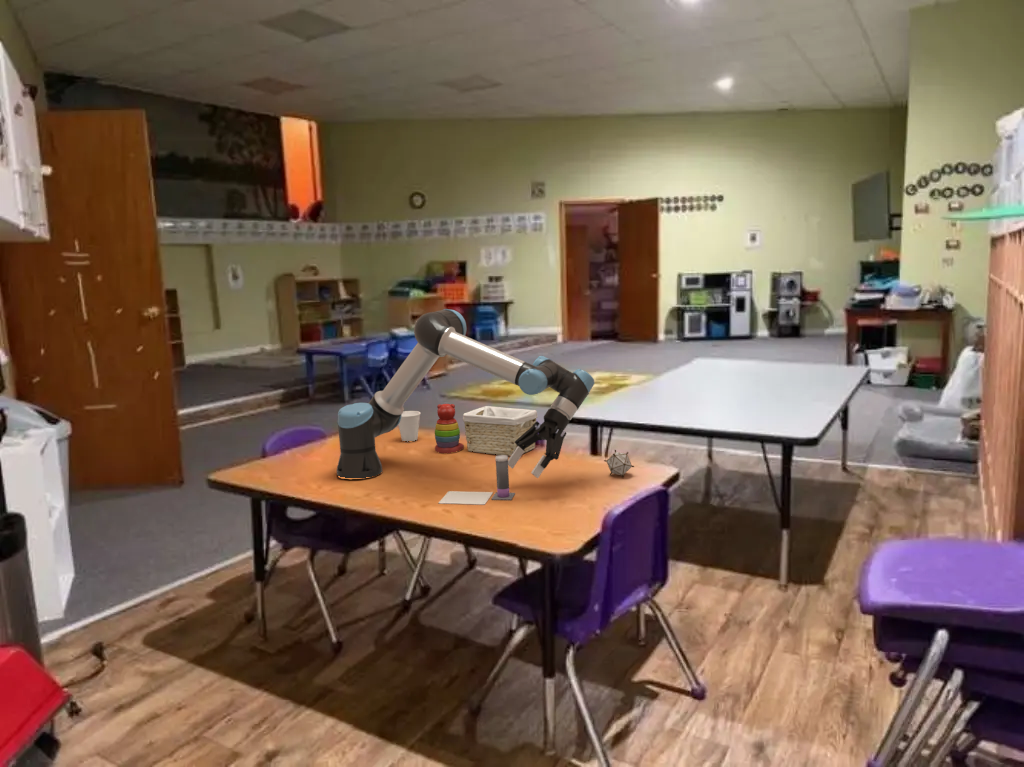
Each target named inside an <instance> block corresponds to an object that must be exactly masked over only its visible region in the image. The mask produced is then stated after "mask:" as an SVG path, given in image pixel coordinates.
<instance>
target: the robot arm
mask: <svg viewBox="0 0 1024 767" xmlns="http://www.w3.org/2000/svg"><path fill="white" fill-rule="evenodd" d="M467 329H468V328H467V322H466V320H465V318H464V316H463V315H462V314H461V313H460V312H459V311H456V310H454V309H448V308H444V309H442V310H441V309H440V310H436V311H431V312H426V313H424V314H422V315H421V316H419V318H417V320H416V322H415V324H414V328H413V333H414V338H415V340H416V341H417V343H416V345H415V346H414V347H413V349H412V350H411V352H410V353H409V354H408V355H407V356H406V358H405V359H404V361H403V362H402V363H401V365H400V367H398V369H397V371H396V372H395V374H393V376H392V378H391V379H390V380H389V381H388V382H387V385H385V387H384V388H383V390H379V391H376V392H375V393H374V394H373V395H372V397H371V399H370V400H369V402H368V403H367V402H355V403H352V404H347V405H344V406H343V407H341V408H339V410H338V412H337V422H336V423H337V425H338V429H337V430H338V436H339V437H338V438H339V451H340V452H339V454H340V455H339V459H338V463H337V466H336V476H337V475H338V476H340V477H345V478H366V477H372V476H376V475H378V474H380V473H381V472H382V473H383V465H382V462H381V460H380V457H379V456H378V453H377V451H376V438H377V437H380V436H383V435H384V434H387V433H389V432H391V431H393V430H395V429H396V428H397V427H398V426H399V425H398V424H399V423H400V420H401V416H402V415H401V414H402V413H403V412H404V410H405V408H404V405H405V403H406V402H407V401H408V399H409V398H410V396H411V395H412V394H413V392H414V391H415V390H416V389H417V388H418V386H419V384H420V383H421V382H422V380H423V379H424V378H425V376H426V375H427V373H428V372H430V370H431V369H432V367H433V365H435V363H436V362H437V360H438V359H439V358H442V357H445V356H448V357H449V356H450V357H451V358H454V359H456V360H458V361H461V362H463V363H465V364H468V365H470V366H472V367H474V368H477V369H479V370H481V371H483V372H486V373H488V374H490V375H493V376H494V377H498V378H500V379H502V380H504V381H506V382H508V383H511V384H514V385H515V386H518V387H519V389H520V390H521V391H522V392H523V393H524V394H525V395H529V396H534V395H539V394H541V393H543V391H545V390H546V389H549V388H550V389H552V390H554V391H555V392H557V393H559V394H558V395H557V396H556V397H555V399H554V401H553V402H552V403H551V405H550V408H548V410H547V411H545V412H546V413H545V414H544V416H543V422H542V423H540V422H539V421H538V420H536V422H535V423H534V425H533V426H532V427H531V428H530V429H529V430H527V431H526V432H525V433H524V434H523V435H522V436H520V437H519V438H518V439H517V440H516V441H515V443H516V445H517V447H516V449H515V450H514V452H513V453H512V455H511V456H509V457H508V467H510V468H511V469H513V468H515V466H516V464H517V463H518V462H519V460H520V459H521V457H522V456H523V453H524V451H525V450H524V449H525V448H527V447H529V446H530V445H532V444H533V443H535V444H536V442H538V441H546V442H545V443H546V444H545V445H546V446H545V452H544V453H543V454H542V456H541V457H540V459H539V460H538V462H537V464H536V465H535V466H534V467H533V469H532V471H530V474H532V475H533V476H534V477H535V478H537V479H539V478H540V476H541V474H542V473H543V472H544V470H545V469H546V468H547V467H548V465H549V464H550V462H551V461H553V460H556V461H557V460H559V458H560V454H561V450H562V446H563V443H564V440H565V437H566V435H567V432H566V431H565V429H566V428H567V427H568V425H569V423H570V421H571V420H572V418H573V417H574V416H575V414H576V412H577V411H578V410H579V408H580V407H581V405H582V404H583V403H584V401H585V400H586V398H587V397H588V396H589V395H590V392H591V390H592V389H593V388H594V385H595V379H594V377H593V376H592V375H591V374H590V373H588V372H587V371H586V370H583V369H581V368H578V369H575V370H574V371H573V372H572V371H570V370H568V369H566V368H565V367H563V366H561V365H559V364H558V363H557V362H555V361H553V360H552V359H551V358H548V357H546V356H543V355H539V356H538V357H537V358H536V359H535V360H534V362H533V363H528V362H526V361H524V360H522V359H519V358H517V357H515V356H512V355H510V354H508V353H506V352H503V351H501V350H498V349H496V348H494V347H491V346H489V345H487V344H484V343H482V342H480V341H477V340H476V339H473V338H471V337H469V336H466V334H467V331H468V330H467ZM523 445H524V446H523ZM524 454H525V453H524ZM382 473H381V474H382ZM381 474H380V475H381ZM378 476H379V475H378ZM376 477H377V476H376Z"/></svg>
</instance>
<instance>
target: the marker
mask: <svg viewBox="0 0 1024 767" xmlns="http://www.w3.org/2000/svg"><path fill="white" fill-rule="evenodd" d="M494 458H495V471H496V472H495V474H496V490H497V496H498V497H508V496H509V493H510V481H509V480H510V479H509V478H510V476H509V475H510V474H509V465H508V460H509V456H508V455H495V457H494Z"/></svg>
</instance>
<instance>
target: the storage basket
mask: <svg viewBox="0 0 1024 767" xmlns="http://www.w3.org/2000/svg"><path fill="white" fill-rule="evenodd" d="M537 418H538V412H537V410H535V409H528V408H527V409H523V408H510V407H502V406H501V407H500V406H490V405H485V406H482V407H479V408H476V409H475V408H474V409H473V410H470V411H467V412H465V413H463V415H462V421H463V423H464V431H465V440H466V445H467V451H468V452H472V451H473V452H472V453H480V454H485V453H486V454H490V455H495V454H496V455H495V456H498V455H507V456H508V457H511V455H512V453H513V452H514V450H515V449H516V447H517V445H516V443H515V441H516V440H517V439H518V438H519V437H520V436H522V435H523V434H524V433H525V432H526V431H527V430H529V429H530V428H531V427H532V426H533V425H534V423H535V422H536V421H537ZM523 446H524V445H523ZM535 447H536V442H535V443H533V444H532V445H530V446H529V447H527V448H525V449H524V450H525V451H524V453H523V454H525V453H528V452H530V451H532V450H533V449H535ZM523 454H522V455H523Z"/></svg>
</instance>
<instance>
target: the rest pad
mask: <svg viewBox="0 0 1024 767" xmlns="http://www.w3.org/2000/svg"><path fill="white" fill-rule="evenodd" d="M515 496H516V492H509V496H508V497H498V496H497V492H496V491H495V493H494V494H493V495H492V496H491V500H492V501H513V499H514V498H515ZM512 498H513V499H512Z"/></svg>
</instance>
